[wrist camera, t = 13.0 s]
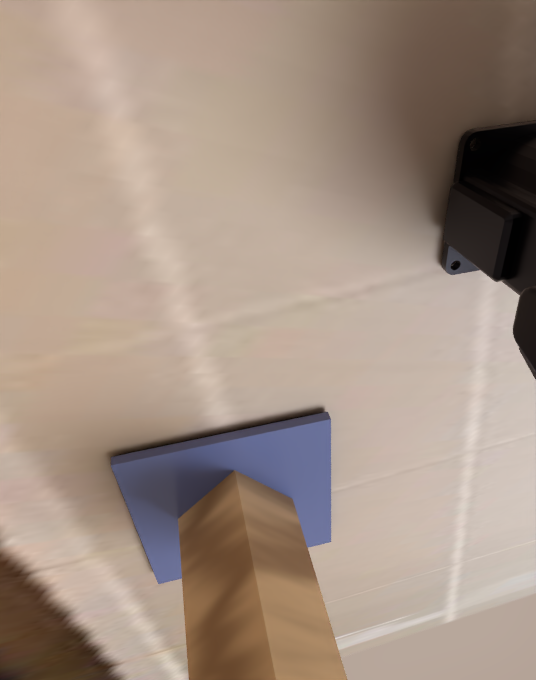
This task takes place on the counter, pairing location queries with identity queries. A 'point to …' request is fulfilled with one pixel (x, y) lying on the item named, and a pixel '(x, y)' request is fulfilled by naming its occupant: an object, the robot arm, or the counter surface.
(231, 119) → the counter surface
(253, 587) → the oak block
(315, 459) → the blue tile
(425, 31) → the counter surface
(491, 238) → the robot arm
